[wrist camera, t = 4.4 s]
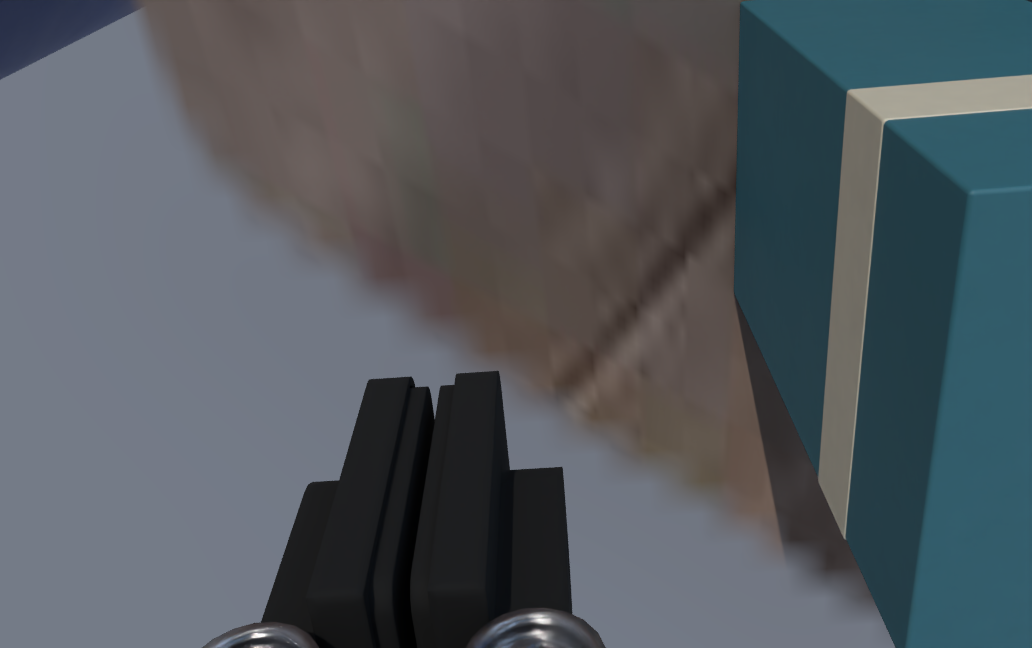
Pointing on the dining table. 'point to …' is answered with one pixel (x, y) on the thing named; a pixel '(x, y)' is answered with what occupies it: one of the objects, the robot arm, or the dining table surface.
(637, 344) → the dining table surface
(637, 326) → the dining table surface
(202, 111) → the dining table surface
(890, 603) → the carton
